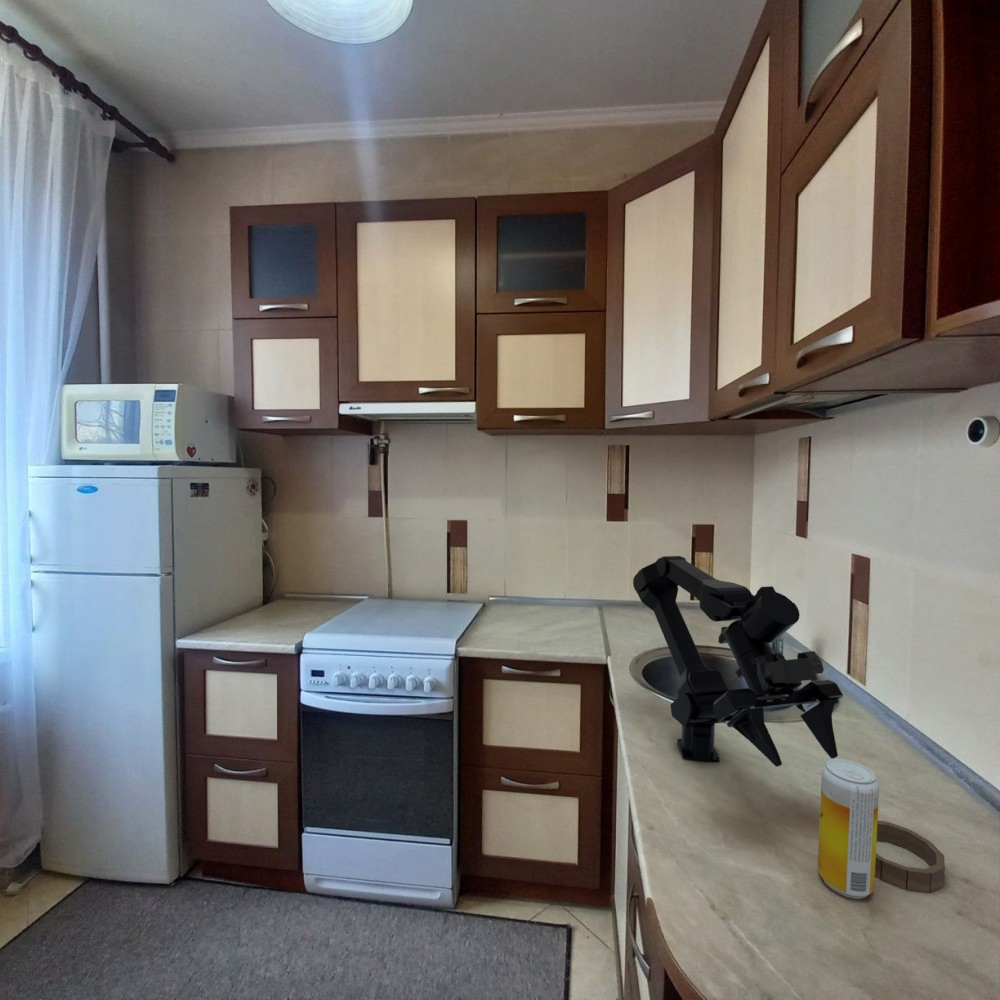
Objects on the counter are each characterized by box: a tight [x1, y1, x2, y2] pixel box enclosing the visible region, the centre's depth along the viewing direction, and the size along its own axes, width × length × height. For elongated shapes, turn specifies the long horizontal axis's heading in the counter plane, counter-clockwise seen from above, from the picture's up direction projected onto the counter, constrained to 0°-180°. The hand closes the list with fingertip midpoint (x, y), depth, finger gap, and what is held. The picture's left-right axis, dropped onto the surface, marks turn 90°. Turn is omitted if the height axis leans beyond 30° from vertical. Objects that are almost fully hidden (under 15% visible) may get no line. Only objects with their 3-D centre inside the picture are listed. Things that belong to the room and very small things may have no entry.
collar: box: [875, 820, 946, 893], centre depth 72 cm, size 10×10×2 cm
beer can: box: [817, 758, 880, 900], centre depth 68 cm, size 6×6×15 cm
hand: (807, 761), depth 74 cm, fingers open, 9 cm apart
